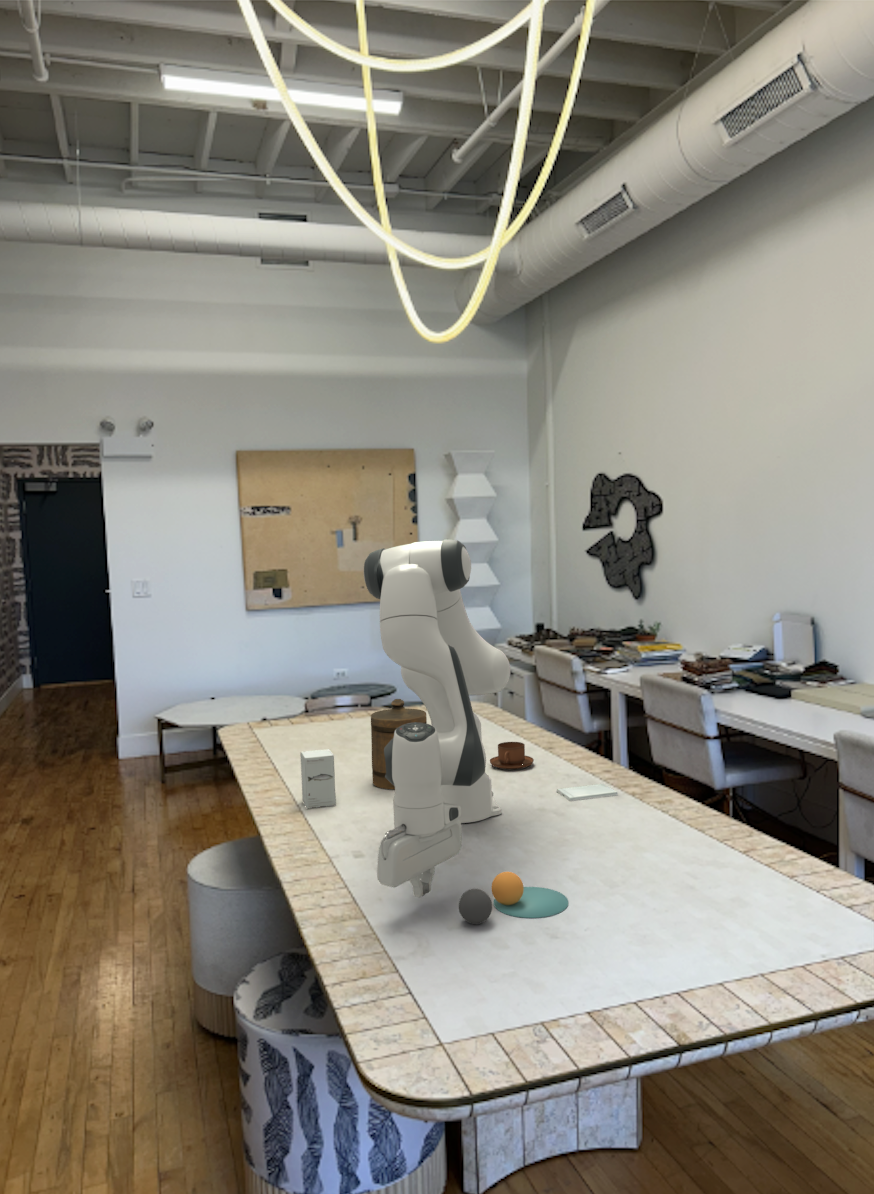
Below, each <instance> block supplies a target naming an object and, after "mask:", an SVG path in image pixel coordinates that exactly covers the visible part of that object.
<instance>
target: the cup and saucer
mask: <svg viewBox="0 0 874 1194" xmlns="http://www.w3.org/2000/svg"><path fill="white" fill-rule="evenodd" d="M525 745H526V744H525V743H523V742H519V741H505V742H500V743H498V744H497V755H498V756H494V757H491V758H490V760H489V762H490V765H492V766H493V767H495V768H497V769H501V770H519V769H520V770H521V769H524V768H528V767H530V766H531V765H533V763H534V760H535V759H534V758H533V757H532V756H528V755H526V754H525V752H526V751H525V750H526V749H525V747H526V746H525ZM522 764H523V765H522Z"/></svg>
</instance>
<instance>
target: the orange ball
mask: <svg viewBox="0 0 874 1194" xmlns="http://www.w3.org/2000/svg"><path fill="white" fill-rule="evenodd" d="M524 887H525V886H524V883H523V881H522V879H521V877H520V876H519V875H518V874H516V873H515V872H512V871H503V872H500V873H498V874H497V875H496V876H494V878H493V880H492V882H491V893H492V896H493V899H496V900H497V901H498V902H499V903H501V904H503V905H512V904H515V903H517V902H518V901H519V900H520V899H521V897H522V895H523V891H524Z"/></svg>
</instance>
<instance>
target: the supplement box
mask: <svg viewBox="0 0 874 1194" xmlns="http://www.w3.org/2000/svg"><path fill="white" fill-rule="evenodd" d="M299 753H300V755H299V756H300V774H301V775H300V776H301V777H300V778H301V794H302V795H301V796H302V802H304V803H303V804H305V805H304V806H306V807H305V809H306V808H309V809H313V808H312V807H316V808H321V807H320V806H326V807H334V806H333V805H335V806H337V801H336V800H337V798H336V797H337V795H336V778H335V777H336V776H335V775H336V774H335V755H334V753H333V752H332V751H331V749H329V748H327V749H315V750H303V751H300V752H299Z"/></svg>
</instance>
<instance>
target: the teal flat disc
mask: <svg viewBox="0 0 874 1194" xmlns="http://www.w3.org/2000/svg"><path fill="white" fill-rule="evenodd" d="M523 887H524V891H523V895H522V897H521V899H520V900H519V901H518V902H517V903H515V904H512V905H503V904H501V903H499V902H498V901H497V900H496V899H495V898H493V906H494V908H495V909H496V910H497V911H499V912H500V913H502V914H505V915H507V916H510V917H515V918H522V919H539V918H540V919H541V918H547V917H552V916H555V915H558V914H560V913H562V912H564V911H565V910H566V909H567V908H568V906H569V900H568V898H567V896H566V895H565V894H563V893H562V892H560V891H557V890H555V889H551V888H547V887H546V888H545V887H541V886H523Z"/></svg>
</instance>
